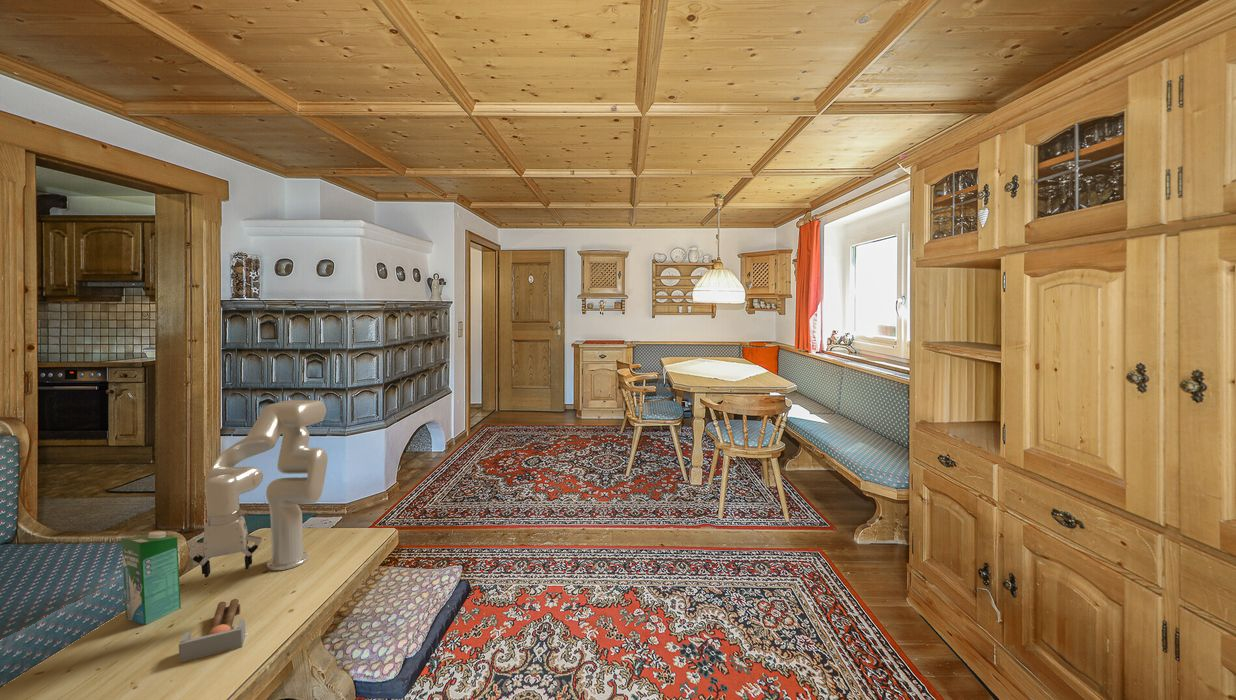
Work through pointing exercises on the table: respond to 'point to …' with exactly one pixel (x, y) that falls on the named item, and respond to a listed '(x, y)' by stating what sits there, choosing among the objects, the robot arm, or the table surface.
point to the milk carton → (150, 576)
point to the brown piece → (225, 613)
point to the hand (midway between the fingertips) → (228, 570)
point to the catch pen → (211, 643)
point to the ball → (220, 629)
